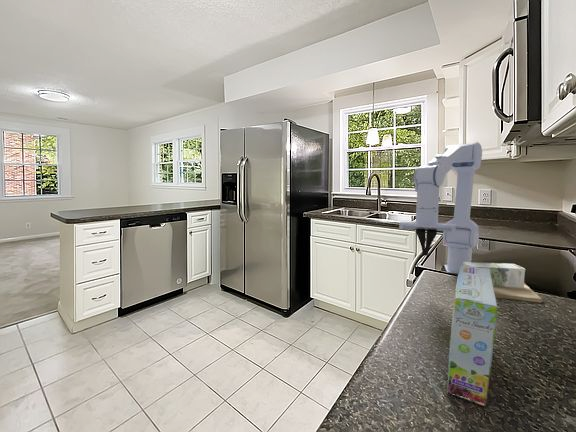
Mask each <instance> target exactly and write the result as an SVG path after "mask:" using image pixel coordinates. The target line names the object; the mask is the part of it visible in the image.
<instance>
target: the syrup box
mask: <svg viewBox="0 0 576 432" xmlns="http://www.w3.org/2000/svg"><path fill="white" fill-rule="evenodd" d="M463 266H473V267H479V268H486V269H490V274H491V279H492V284H493V286H501V287H516V288H524V283H525V273H526V268H525V267H523V266H520V265H517V264H515V263H507V262H506V263H505V262H501V263H500V262H483V261H482V262H480V261H476V262H475V261H471V262H463Z"/></svg>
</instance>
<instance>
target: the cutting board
mask: <svg viewBox="0 0 576 432" xmlns="http://www.w3.org/2000/svg"><path fill="white" fill-rule="evenodd" d="M493 289H494V293H495V298H499V299H500V298H501V299H508V300H509V299H510V300H514V301H515V300H517V301H523V302H530V303H531V302H532V303H533V302H534V303H543V298H542V297H540V296H539V295H538V294H537V293H536V292H535V291H534V290H533V289H531V288H530V286H528V285H527V284H526V282H524V288H516V287H501V286H493Z"/></svg>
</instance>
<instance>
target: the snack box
mask: <svg viewBox="0 0 576 432" xmlns="http://www.w3.org/2000/svg"><path fill="white" fill-rule="evenodd" d="M496 298H497V297H495V293H494V289H493V284H492V279H491V274H490V269H486V268H479V267H473V266H463V265H460V267H459V272H458V274H457V280H456V285H455V293H454V298H453V308H452V319H451V328H450V341H449V355H448V374H447V377H448V378H447V390H446V394H447V393H451V394H455V395H459V396H463V397H466V398H469V399H471V400H474V401H478V402H481V403H484V404H486V403H487V404H488V396H489V387H490V386H489V385H490V380H491V379H490V377H491V369H492V362H493V354H494V353H493V352H494V343H495V335H496V334H495V333H496V326H497V315H498V304H497V299H496Z"/></svg>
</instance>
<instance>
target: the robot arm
mask: <svg viewBox="0 0 576 432" xmlns="http://www.w3.org/2000/svg"><path fill="white" fill-rule="evenodd" d="M482 159H483V148H482V144H480V142H478V141H476V142H475V141H474V142H471V143H460V144H448V145H447V146H446V147H445V148H444V151H443V154H436V155H435V157H433V159H431V161H429V162H428V163H426V164H425V165H421V166H418V167H417V168H416V169H415V170H414V174H413V182H414V185H415V186H414V189H415V190H414V191H415V192H416V204H415V205H416V208H415V209H416V210H415V211H416V212H415V221H399V222H398V223H399V224H398V225H399V226H398V229H399V230H414V231H415V233H416V235H417V238H418V240H419V243H420V247H421V251H422V252H421V254H422V255H421V256H425V257H427V256H429V251H430V248H431V245H432V243H433V241H434V240H435V238H436V236H437V234H438V232H439V231H440V232H443V234H442V239H443V242H444V243H445V244H446V246H447V263H446V264H444V268H445V271H446V273H448V274H455V275H456V274H457V275H458V272H459V267H460V265H463V262H472V255H473V248H476V247H477V246H478V243H479V241H480V240H479V239H480V233H479V225H478V224H477V223H476V222H475V221H473V220H472V219H471V209H472V199H473V198H472V197H473V189H474V187H473V186H474V178H475V172H476V171H477V170H479V169H480V168H481V165H482ZM451 170H453V171H456V173H457V179H456V190H455V200H454V211H453V218H452V219H450V220H449V221H448V220H447V222H446V223H443V222H439V208H440V207H439V206H440V204H439V203H440V187H441V186H443V183H444V180H445V178H446V175H447V174H448V173H449V172H450V171H451Z"/></svg>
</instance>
